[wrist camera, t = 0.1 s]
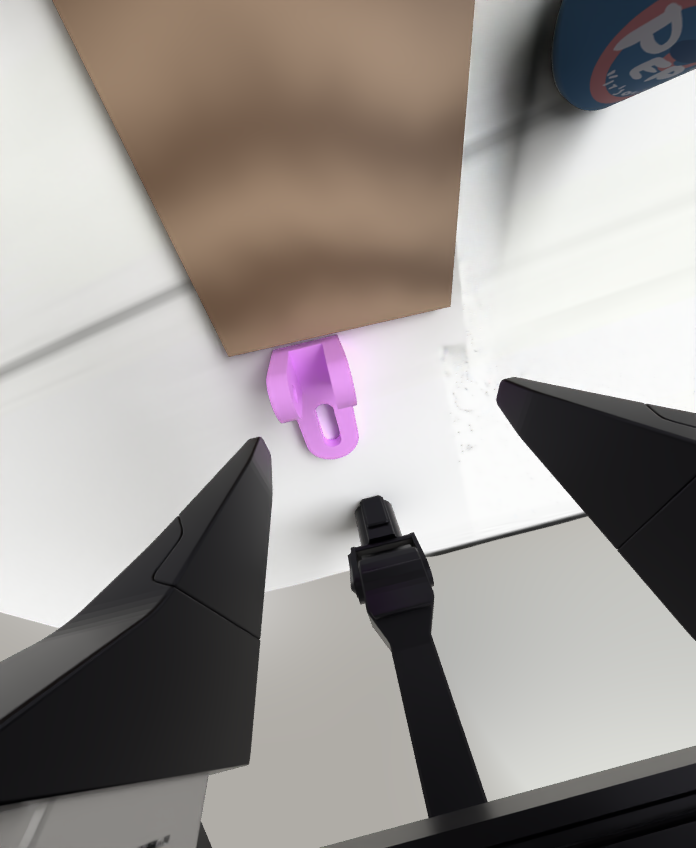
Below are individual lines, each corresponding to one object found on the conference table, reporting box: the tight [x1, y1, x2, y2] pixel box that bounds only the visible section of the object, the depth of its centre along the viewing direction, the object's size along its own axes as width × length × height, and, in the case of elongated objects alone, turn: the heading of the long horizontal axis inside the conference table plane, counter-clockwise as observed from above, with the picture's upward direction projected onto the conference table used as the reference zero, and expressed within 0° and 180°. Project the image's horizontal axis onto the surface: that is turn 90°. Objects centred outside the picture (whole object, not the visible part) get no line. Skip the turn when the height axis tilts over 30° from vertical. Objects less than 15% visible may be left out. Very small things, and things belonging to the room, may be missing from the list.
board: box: [52, 0, 475, 357], centre depth 13 cm, size 20×18×4 cm
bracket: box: [266, 335, 359, 459], centre depth 22 cm, size 13×6×7 cm, turn 10°
